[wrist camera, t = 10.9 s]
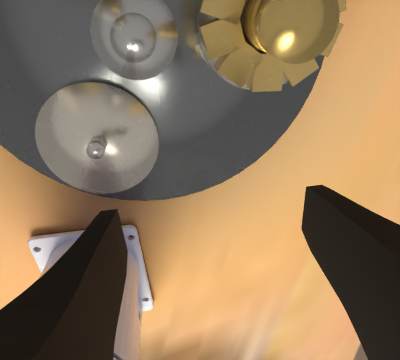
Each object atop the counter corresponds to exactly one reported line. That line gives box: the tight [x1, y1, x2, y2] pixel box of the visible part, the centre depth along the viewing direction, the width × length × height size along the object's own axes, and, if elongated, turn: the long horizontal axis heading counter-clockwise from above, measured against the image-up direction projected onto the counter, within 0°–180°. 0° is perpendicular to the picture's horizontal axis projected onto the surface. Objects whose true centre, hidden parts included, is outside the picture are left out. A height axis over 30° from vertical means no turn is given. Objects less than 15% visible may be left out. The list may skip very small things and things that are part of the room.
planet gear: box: [197, 0, 346, 92], centre depth 14 cm, size 7×7×5 cm
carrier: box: [0, 0, 324, 201], centre depth 15 cm, size 21×21×5 cm
